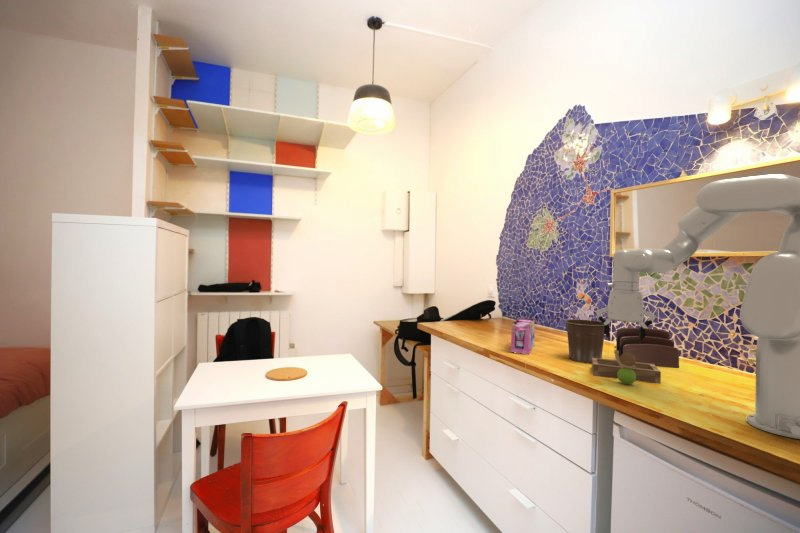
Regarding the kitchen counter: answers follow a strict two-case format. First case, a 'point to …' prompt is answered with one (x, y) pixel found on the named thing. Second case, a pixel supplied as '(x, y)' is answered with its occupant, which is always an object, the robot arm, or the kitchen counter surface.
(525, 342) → the gum box
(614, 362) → the brown wooden flat frame
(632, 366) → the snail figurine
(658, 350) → the letter holder
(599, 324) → the plant pot
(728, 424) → the kitchen counter surface
